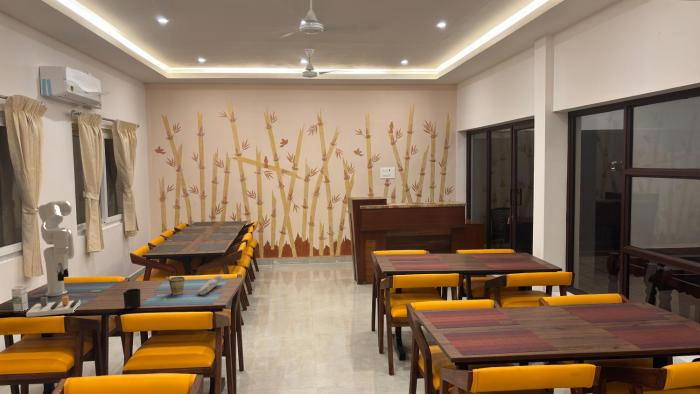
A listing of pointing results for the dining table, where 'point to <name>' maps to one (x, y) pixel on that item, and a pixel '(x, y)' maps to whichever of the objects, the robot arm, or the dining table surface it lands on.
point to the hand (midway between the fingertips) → (63, 278)
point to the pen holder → (132, 298)
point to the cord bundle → (60, 301)
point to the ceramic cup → (177, 285)
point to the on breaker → (44, 301)
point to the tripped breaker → (65, 300)
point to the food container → (209, 285)
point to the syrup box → (19, 298)
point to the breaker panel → (46, 309)
